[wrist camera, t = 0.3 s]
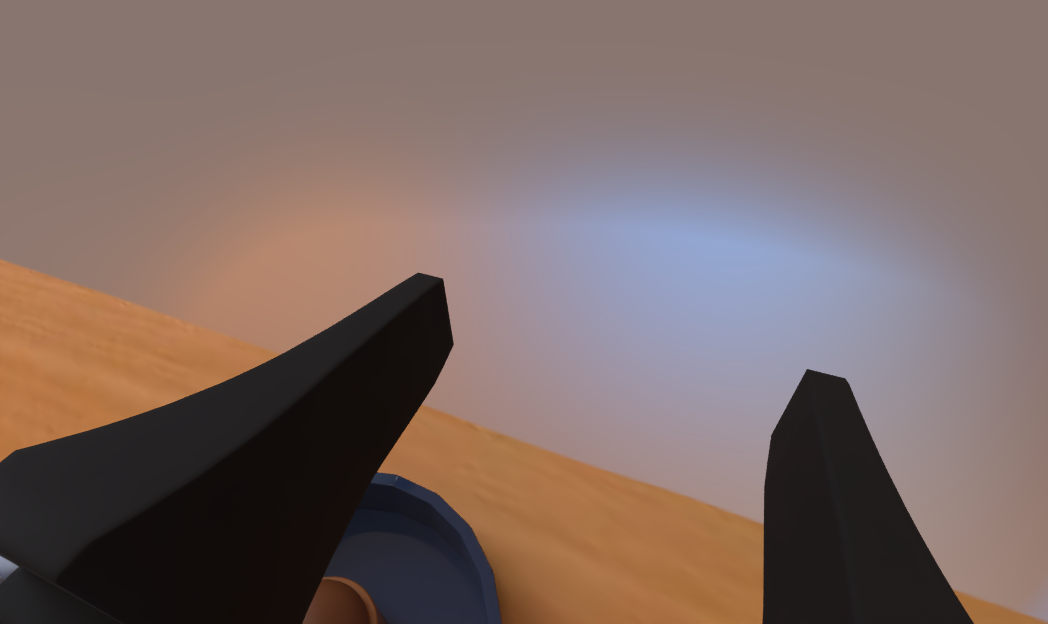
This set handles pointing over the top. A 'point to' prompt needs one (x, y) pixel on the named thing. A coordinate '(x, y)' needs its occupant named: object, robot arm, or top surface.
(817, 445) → the robot arm
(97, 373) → the top surface
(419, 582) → the pot
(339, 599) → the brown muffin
